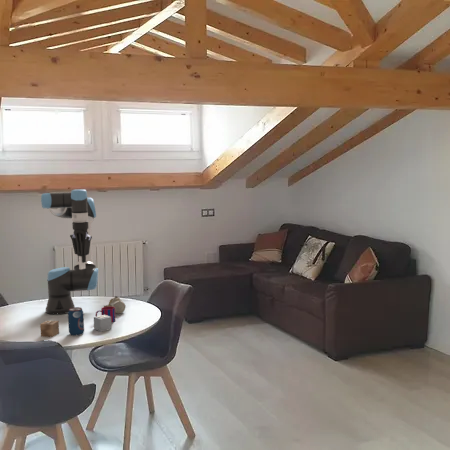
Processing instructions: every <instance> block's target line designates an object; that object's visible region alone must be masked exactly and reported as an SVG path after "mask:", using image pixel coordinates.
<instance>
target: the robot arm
mask: <svg viewBox="0 0 450 450" xmlns="http://www.w3.org/2000/svg"><path fill="white" fill-rule="evenodd" d="M40 197H41V198H40V199H41V201H40V202H41V208H43V209H49V213H51V215H53V216H55V217H57V218H61V219H72V224H71V225H72V230H73V233H72V234H69V237H70V240H71V243H72V249H73V251H74V254H75V255H76V264H74V266H73V269H71V268H70V267H69V266H64V267H58V268H57V267H56V268H53V269H51V270H49V271H48V272H47V290H48V291H47V293H48V296H47V297H48V299H47V303H46V306H45V313H46V314H48V315H64V314H68V312H69V309H70V308H75V307H76V305H75V304H74V301H73V298H72V292H80V291H82V292H83V291H94V290H96V289H97V287H98V281H99V268H98V267H97V266H96V264H95V263H94V262H93V259H94V258H93V236H92V223H93V222H94V220H95V219H94V218H96V217H97V212H96V207H95V200H94V198H92V197H88V191H87V189H84V188H83V189H80V188H79V189H72V190H70V192H52V193H49V192H46V193H42V194H41V196H40Z"/></svg>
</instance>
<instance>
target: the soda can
mask: <svg viewBox="0 0 450 450" xmlns="http://www.w3.org/2000/svg"><path fill="white" fill-rule="evenodd" d="M84 317H85V316H84V311H83V308H82V307H81V306H80V307H79V306H77V307H76V306H75V308H70V309H69V312H68V313H67V319H68V333H69V335H71V336H72V335H73V336H74V337H75V336H76V335H78V336H82V335H83V334H84V332H85V322H84ZM76 337H77V336H76Z"/></svg>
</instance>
